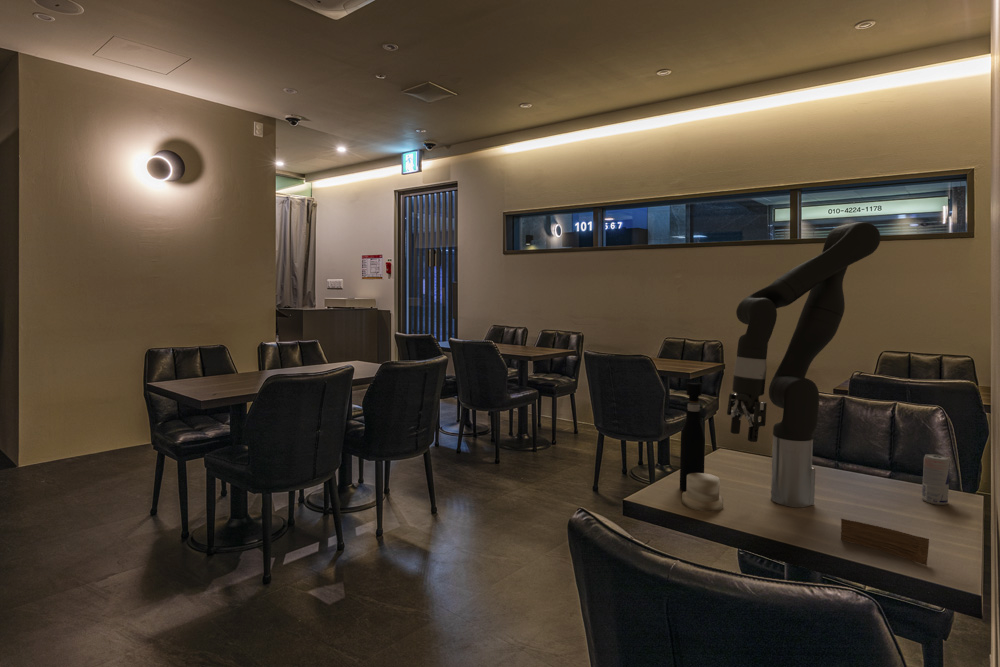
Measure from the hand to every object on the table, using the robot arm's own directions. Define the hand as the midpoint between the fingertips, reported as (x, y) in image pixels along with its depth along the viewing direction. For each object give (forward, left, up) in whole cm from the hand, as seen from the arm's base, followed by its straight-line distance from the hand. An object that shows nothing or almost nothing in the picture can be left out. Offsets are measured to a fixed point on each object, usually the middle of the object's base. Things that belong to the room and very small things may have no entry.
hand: (743, 437), depth 143 cm
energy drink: (-52, +3, -18) cm, 55 cm away
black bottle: (+8, -11, -18) cm, 23 cm away
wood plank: (-15, +29, -18) cm, 37 cm away
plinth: (+10, 0, -17) cm, 20 cm away
